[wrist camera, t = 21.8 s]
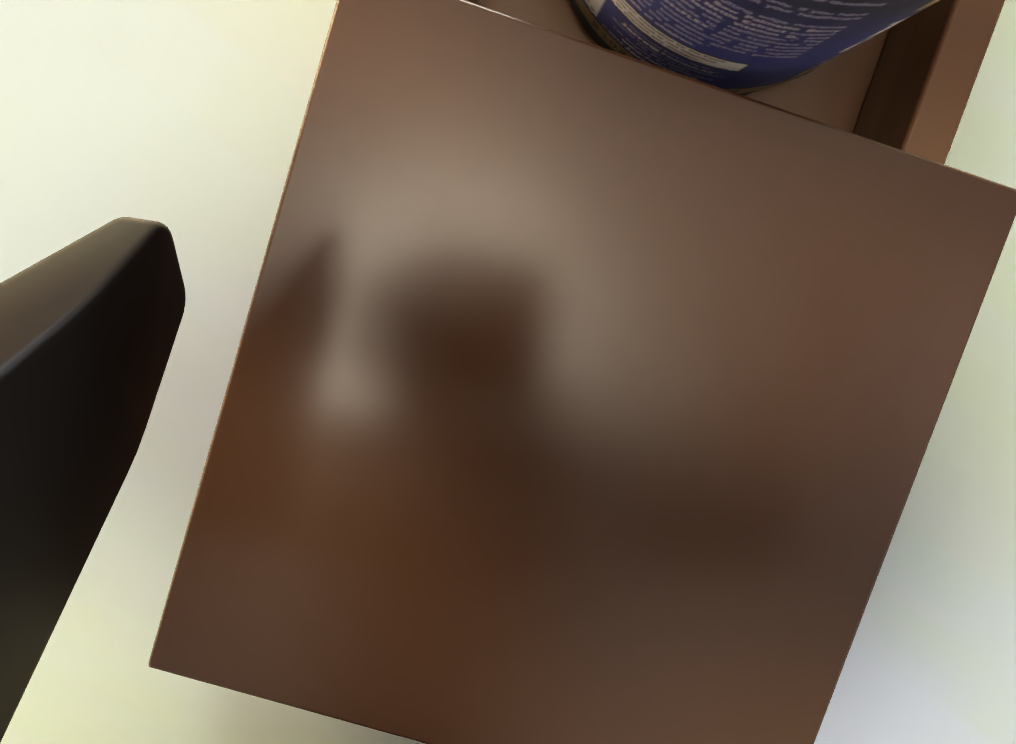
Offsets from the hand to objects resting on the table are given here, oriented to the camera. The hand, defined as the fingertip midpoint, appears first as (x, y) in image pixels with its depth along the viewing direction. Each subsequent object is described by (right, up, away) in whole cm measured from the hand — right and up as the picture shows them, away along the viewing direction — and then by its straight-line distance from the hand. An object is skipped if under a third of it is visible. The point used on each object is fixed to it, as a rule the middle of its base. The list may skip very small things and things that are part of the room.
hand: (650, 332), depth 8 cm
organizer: (0, -1, +11) cm, 11 cm away
